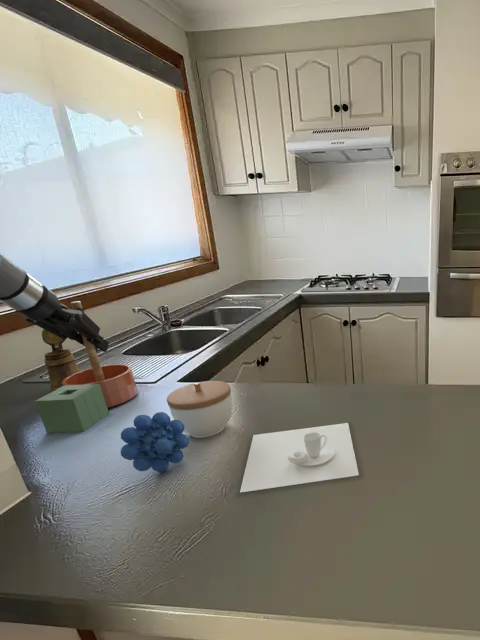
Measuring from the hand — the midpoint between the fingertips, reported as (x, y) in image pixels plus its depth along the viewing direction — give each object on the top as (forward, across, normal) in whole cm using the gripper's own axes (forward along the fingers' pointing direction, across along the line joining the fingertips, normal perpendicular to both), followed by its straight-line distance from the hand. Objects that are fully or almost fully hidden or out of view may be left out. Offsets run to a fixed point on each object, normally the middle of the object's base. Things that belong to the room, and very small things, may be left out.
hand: (101, 347), depth 111 cm
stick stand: (-2, -2, +22) cm, 22 cm away
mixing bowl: (+7, 0, +12) cm, 14 cm away
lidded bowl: (-7, -36, +26) cm, 45 cm away
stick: (+5, 0, +11) cm, 12 cm away
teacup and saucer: (-15, -59, +34) cm, 69 cm away
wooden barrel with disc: (+15, +19, +4) cm, 25 cm away
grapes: (-18, -35, +37) cm, 54 cm away
